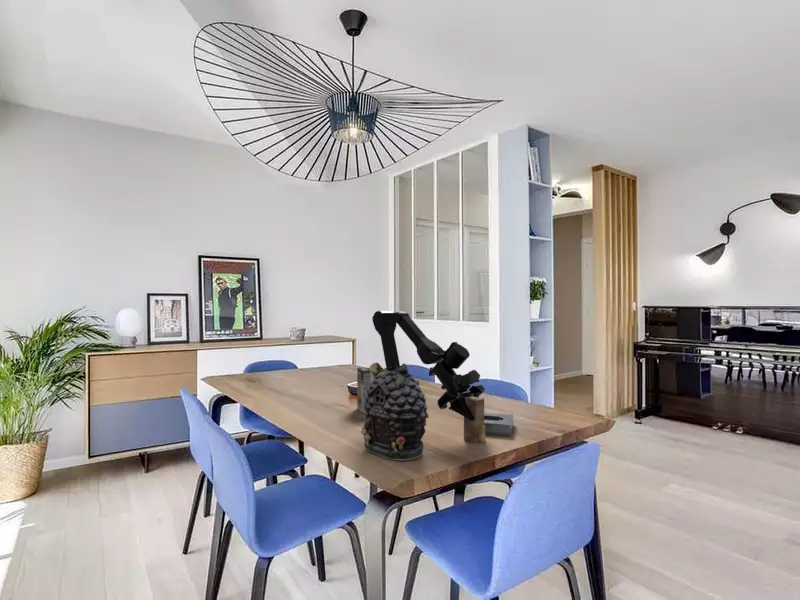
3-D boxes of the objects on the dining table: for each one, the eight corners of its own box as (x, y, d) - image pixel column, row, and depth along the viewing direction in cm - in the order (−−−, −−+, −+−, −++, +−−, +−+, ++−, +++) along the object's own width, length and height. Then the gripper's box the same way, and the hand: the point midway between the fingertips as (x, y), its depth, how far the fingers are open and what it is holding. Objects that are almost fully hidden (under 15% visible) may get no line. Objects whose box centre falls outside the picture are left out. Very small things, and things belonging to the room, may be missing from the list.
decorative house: (348, 450, 126) (349, 361, 126) (385, 438, 137) (385, 357, 138) (404, 468, 112) (405, 368, 112) (440, 453, 123) (440, 362, 124)
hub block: (465, 432, 145) (465, 421, 145) (472, 421, 158) (472, 411, 158) (510, 436, 140) (510, 425, 140) (513, 425, 154) (513, 414, 154)
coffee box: (356, 408, 178) (356, 367, 178) (372, 407, 180) (372, 367, 180) (361, 413, 169) (361, 370, 169) (378, 412, 171) (378, 370, 171)
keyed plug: (463, 439, 136) (463, 398, 137) (472, 436, 140) (472, 396, 140) (479, 443, 133) (479, 401, 133) (487, 440, 136) (487, 399, 136)
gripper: (445, 364, 133) (476, 407, 125) (480, 359, 146) (510, 398, 139) (424, 387, 138) (453, 430, 130) (460, 380, 152) (488, 419, 144)
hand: (477, 418), depth 136 cm, fingers closed on keyed plug, 4 cm apart
